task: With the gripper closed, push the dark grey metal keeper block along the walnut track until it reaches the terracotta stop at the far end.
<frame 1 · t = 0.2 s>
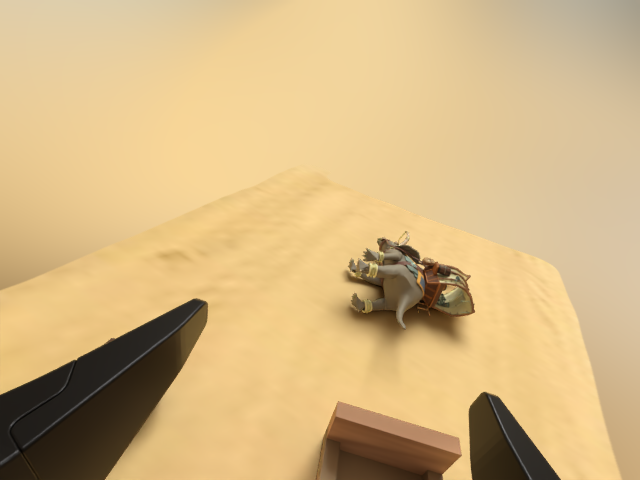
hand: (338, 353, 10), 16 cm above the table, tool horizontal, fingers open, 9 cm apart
figurine: (411, 295, 39), on the table
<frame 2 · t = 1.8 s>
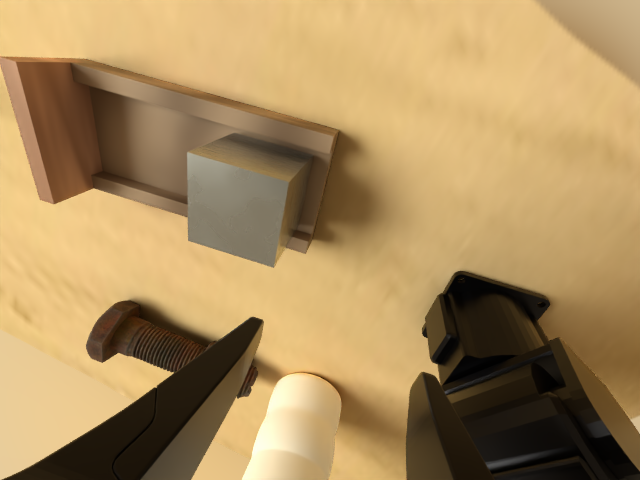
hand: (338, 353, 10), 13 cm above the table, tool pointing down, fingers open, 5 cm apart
keeper: (253, 196, 17), point 4 cm above the table, slide at 0.0 cm
water bottle: (309, 390, 32), on the table
bolt: (195, 336, 32), on the table
track: (206, 155, 21), on the table
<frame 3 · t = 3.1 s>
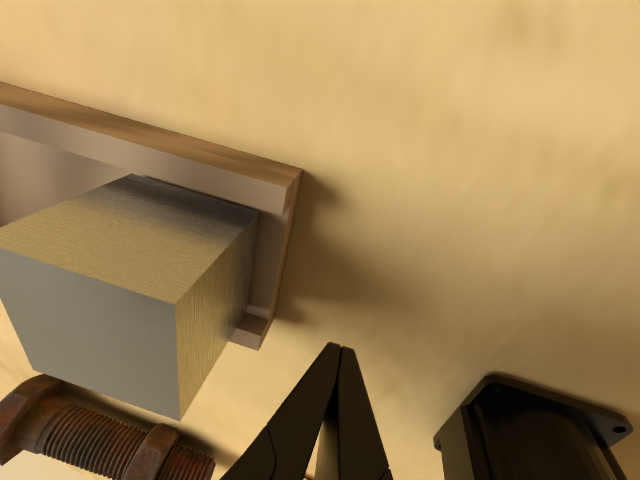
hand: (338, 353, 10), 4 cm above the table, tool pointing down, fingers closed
keeper: (153, 285, 10), point 4 cm above the table, slide at 0.0 cm
bolt: (136, 415, 25), on the table
track: (107, 201, 14), on the table
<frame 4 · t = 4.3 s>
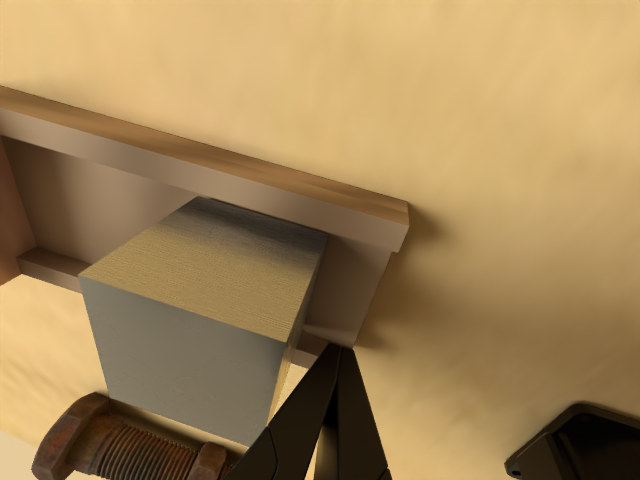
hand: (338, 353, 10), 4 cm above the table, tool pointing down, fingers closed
keeper: (226, 310, 10), point 4 cm above the table, slide at 1.4 cm, touching gripper
bolt: (183, 432, 25), on the table
track: (190, 228, 14), on the table
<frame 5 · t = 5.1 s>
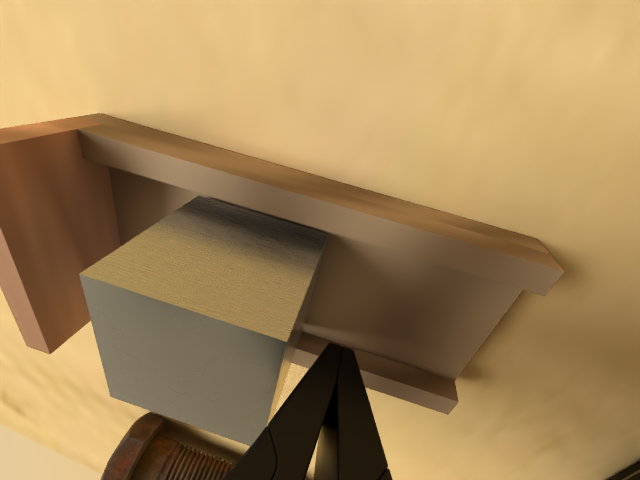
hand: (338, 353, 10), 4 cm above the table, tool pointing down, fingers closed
keeper: (226, 310, 10), point 4 cm above the table, slide at 6.1 cm, touching gripper
bolt: (237, 451, 24), on the table
track: (289, 258, 13), on the table
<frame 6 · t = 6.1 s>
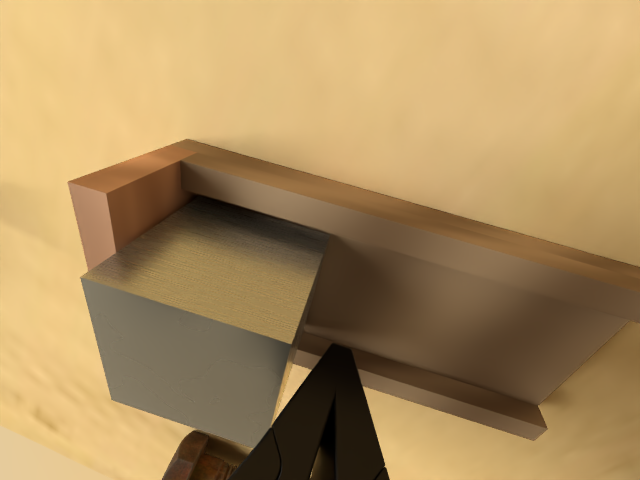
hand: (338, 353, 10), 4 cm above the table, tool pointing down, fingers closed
keeper: (228, 311, 10), point 4 cm above the table, slide at 9.8 cm, touching gripper
bolt: (280, 468, 24), on the table
track: (371, 284, 13), on the table
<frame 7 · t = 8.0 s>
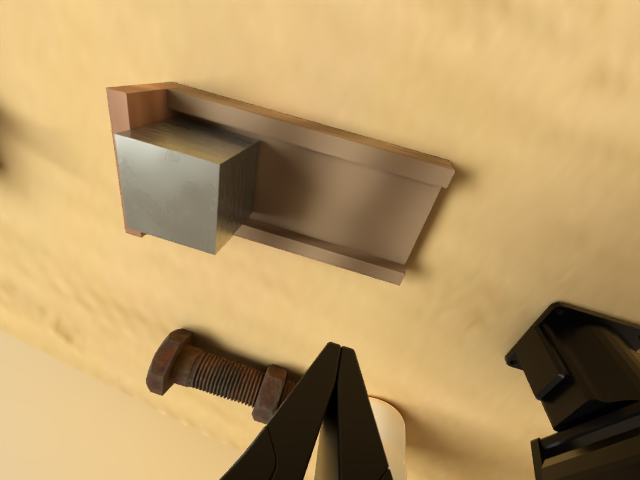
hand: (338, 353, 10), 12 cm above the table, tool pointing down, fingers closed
keeper: (196, 182, 17), point 4 cm above the table, slide at 9.7 cm
water bottle: (368, 413, 31), on the table
bolt: (249, 361, 31), on the table
track: (294, 183, 20), on the table
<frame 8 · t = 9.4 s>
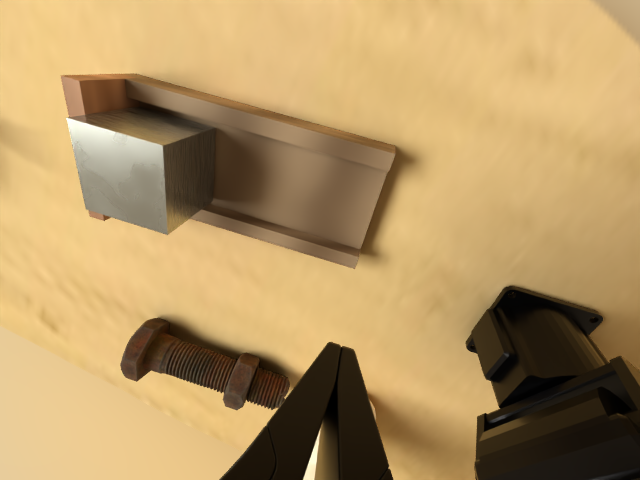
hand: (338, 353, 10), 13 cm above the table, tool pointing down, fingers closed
keeper: (153, 166, 18), point 4 cm above the table, slide at 9.7 cm
water bottle: (342, 401, 32), on the table
bolt: (224, 350, 32), on the table
track: (254, 170, 21), on the table
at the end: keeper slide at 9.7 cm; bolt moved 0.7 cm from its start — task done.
